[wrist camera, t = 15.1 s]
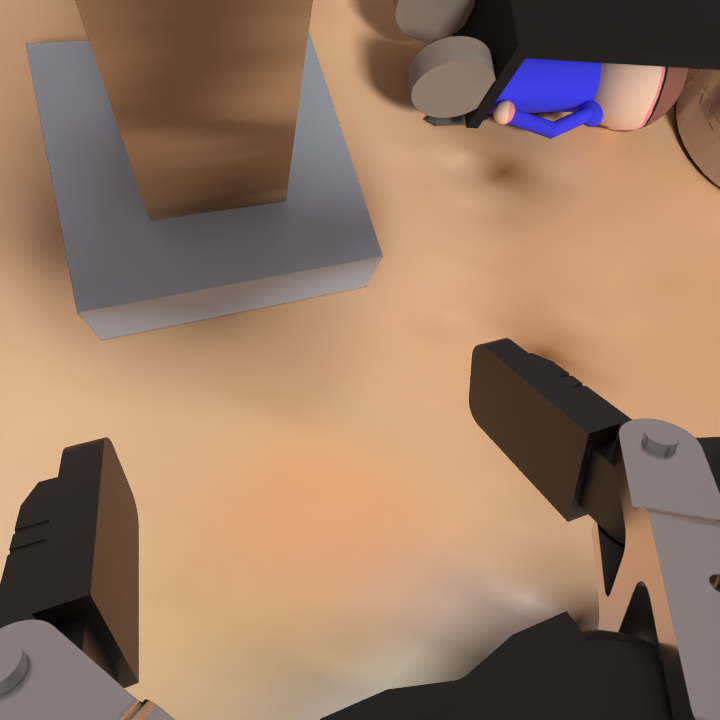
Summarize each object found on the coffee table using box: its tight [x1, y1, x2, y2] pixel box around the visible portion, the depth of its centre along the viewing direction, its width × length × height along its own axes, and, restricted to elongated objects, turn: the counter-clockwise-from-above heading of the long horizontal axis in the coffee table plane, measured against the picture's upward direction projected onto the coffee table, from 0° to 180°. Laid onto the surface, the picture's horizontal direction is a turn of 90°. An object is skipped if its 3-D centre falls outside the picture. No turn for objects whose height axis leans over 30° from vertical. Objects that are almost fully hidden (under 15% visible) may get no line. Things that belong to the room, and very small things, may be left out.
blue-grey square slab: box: [26, 32, 383, 340], centre depth 21 cm, size 11×11×3 cm
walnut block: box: [75, 0, 313, 220], centre depth 15 cm, size 5×5×10 cm
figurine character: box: [394, 0, 720, 139], centre depth 25 cm, size 7×8×15 cm
